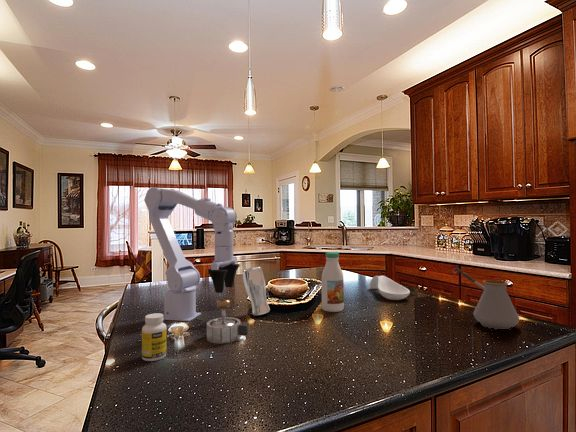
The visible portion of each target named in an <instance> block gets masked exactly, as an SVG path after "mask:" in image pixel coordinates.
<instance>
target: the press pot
mask: <svg viewBox="0 0 576 432" xmlns="http://www.w3.org/2000/svg"><path fill="white" fill-rule="evenodd" d="M218 320H222V317H218V318H213V319H210V320H209V321H207V322H206V340H207V342H209V343H211V344H230V343H233V342H236V341H238V340H239V339H240V338H241V337H242V336H245V337H247V336H248V335H249V324H242V323H241V322H242V320H241V319H239V318H237V317H228V316H226V320H233V321H235V325H232V326H227V327H214V326H212V323H213V322H215V321H218Z"/></svg>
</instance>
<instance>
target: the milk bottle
mask: <svg viewBox="0 0 576 432" xmlns="http://www.w3.org/2000/svg"><path fill="white" fill-rule="evenodd" d="M339 255H340V253H339V252H338V251H326V252H325V259H326V261H325V265H324V267H323V270H322V274H321V309H322V311H325V312H331V313H338V312H342V311H343V310H344V309H345V302H344V301H345V296H344V295H345V291H344V290H345V287H344V286H345V285H344V284H345V282H344V274H343V271H342V270H343V269H341V266H340V264H339V263H340V262H339V260H340V259H339V258H340V256H339Z"/></svg>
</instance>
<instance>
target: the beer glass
mask: <svg viewBox="0 0 576 432" xmlns="http://www.w3.org/2000/svg"><path fill="white" fill-rule="evenodd" d="M241 272H242V281H243V284H244V288H245V292H246V293H247V295H248V298H249V300H250V303H251V313H252V316H253V317H254V316H256V317H257V316H262V315H265V314H267V313H269V312H270V311H271V308H270V306H269V305H270V304H268V299H267V289H266V288H267V285H266V279H265V276H264V272H263V269H262V266H252V267H249V268H246V269H244V270H242V271H241Z"/></svg>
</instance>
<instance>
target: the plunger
mask: <svg viewBox="0 0 576 432" xmlns="http://www.w3.org/2000/svg"><path fill="white" fill-rule="evenodd" d="M230 307H231V299H229V298H220V299H217V300H216V308H217V309H221V318H222V320H218V321H215V322H213V323H212V326H214V327H227V326H232V325H235V321H233V320H226V317H227V316H226V314H227V313H226V309H227V308H230Z"/></svg>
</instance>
